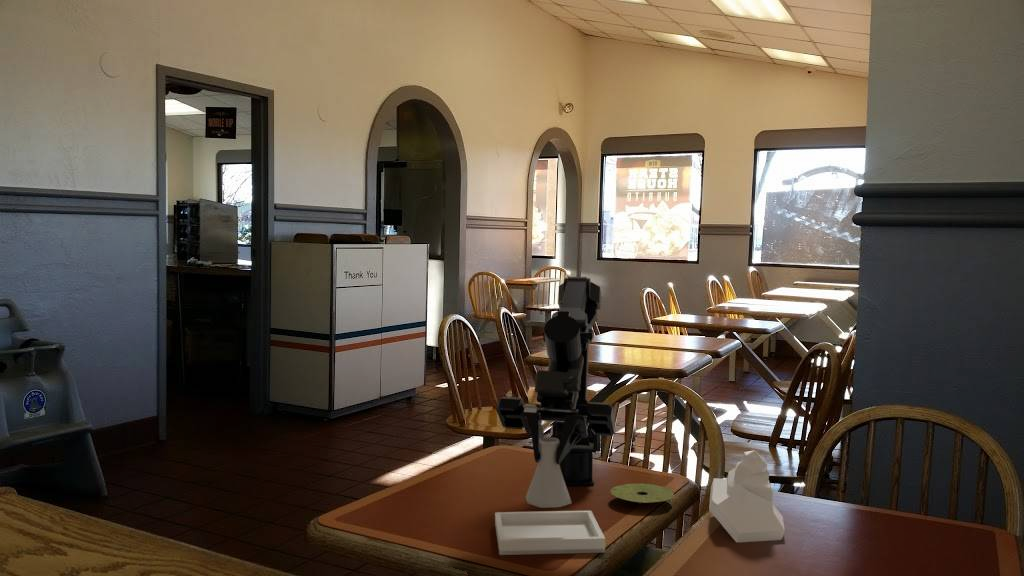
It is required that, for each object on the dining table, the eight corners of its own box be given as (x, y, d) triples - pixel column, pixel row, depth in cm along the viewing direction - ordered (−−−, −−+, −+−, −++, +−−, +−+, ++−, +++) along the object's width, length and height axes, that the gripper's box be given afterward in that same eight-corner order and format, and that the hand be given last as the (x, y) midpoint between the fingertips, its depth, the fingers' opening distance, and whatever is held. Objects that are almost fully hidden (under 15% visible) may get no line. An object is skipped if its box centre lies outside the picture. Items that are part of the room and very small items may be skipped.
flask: (558, 492, 136) (559, 432, 135) (579, 506, 129) (580, 442, 128) (517, 498, 133) (518, 436, 132) (537, 512, 126) (538, 446, 125)
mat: (600, 496, 154) (600, 485, 154) (655, 490, 157) (655, 480, 157) (627, 515, 143) (627, 504, 143) (685, 509, 147) (685, 498, 146)
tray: (590, 523, 139) (591, 510, 139) (605, 552, 126) (605, 538, 126) (495, 525, 138) (495, 512, 138) (499, 555, 125) (499, 540, 125)
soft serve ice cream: (778, 525, 143) (803, 450, 140) (776, 564, 129) (803, 482, 126) (707, 500, 146) (729, 426, 143) (697, 535, 132) (721, 454, 129)
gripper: (499, 347, 136) (477, 430, 126) (613, 352, 130) (600, 438, 121) (512, 387, 144) (493, 467, 134) (620, 393, 139) (608, 477, 129)
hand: (546, 462), depth 129 cm, fingers closed on flask, 3 cm apart
